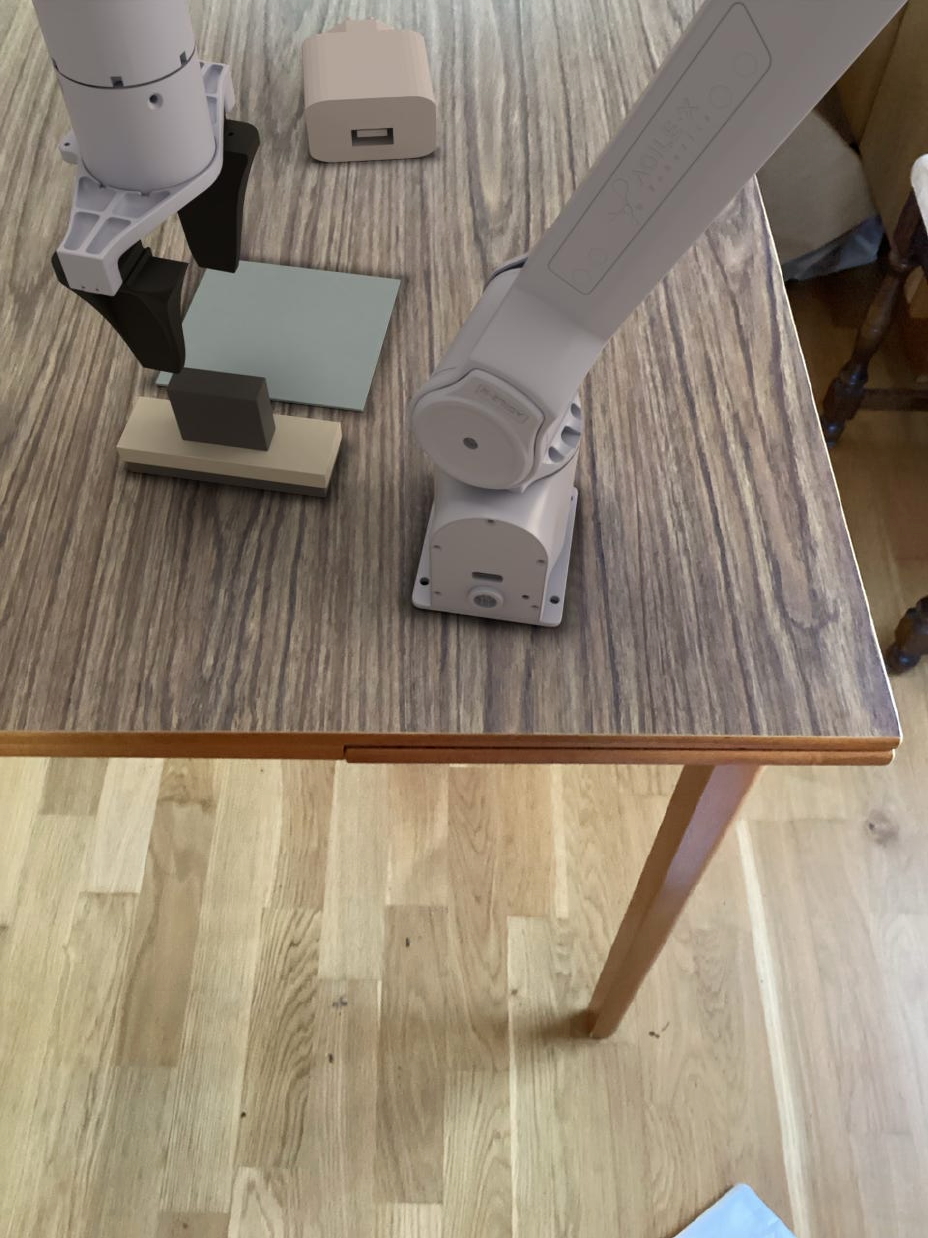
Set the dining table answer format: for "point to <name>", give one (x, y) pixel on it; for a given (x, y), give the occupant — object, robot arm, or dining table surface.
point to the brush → (229, 436)
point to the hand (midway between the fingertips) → (192, 314)
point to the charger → (368, 93)
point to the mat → (291, 330)
